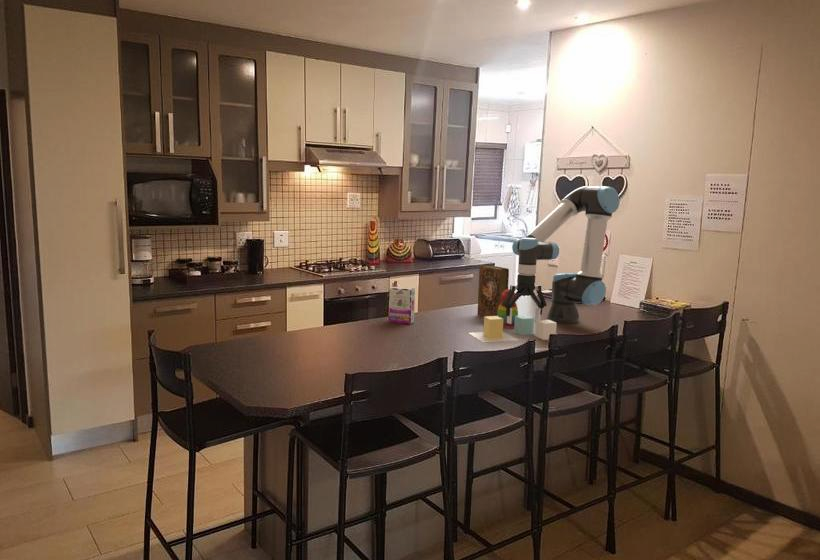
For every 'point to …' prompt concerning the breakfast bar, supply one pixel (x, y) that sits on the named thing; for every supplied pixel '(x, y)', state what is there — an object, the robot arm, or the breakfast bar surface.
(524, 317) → the brick
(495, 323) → the brick base
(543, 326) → the brick
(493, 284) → the book
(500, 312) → the stacking bear
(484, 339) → the build plate
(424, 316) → the breakfast bar surface
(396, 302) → the candy bar box
